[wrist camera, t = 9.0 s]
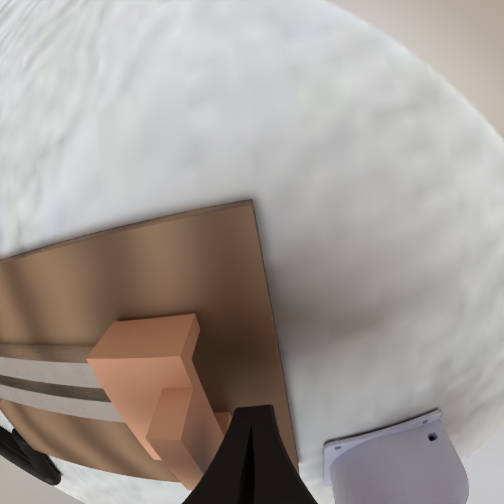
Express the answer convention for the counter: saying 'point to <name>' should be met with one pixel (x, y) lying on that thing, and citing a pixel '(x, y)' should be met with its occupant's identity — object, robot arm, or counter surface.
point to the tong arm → (60, 398)
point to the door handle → (27, 457)
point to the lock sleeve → (161, 391)
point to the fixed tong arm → (49, 364)
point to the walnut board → (145, 307)
